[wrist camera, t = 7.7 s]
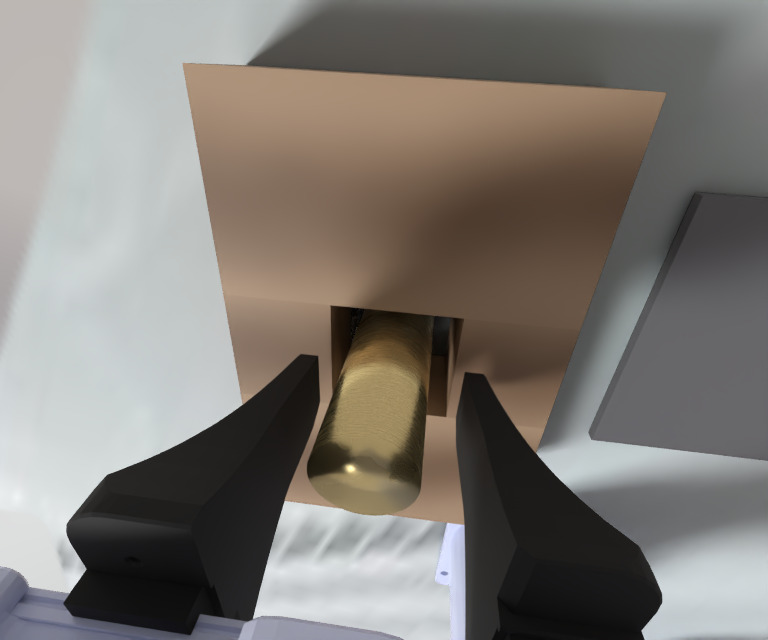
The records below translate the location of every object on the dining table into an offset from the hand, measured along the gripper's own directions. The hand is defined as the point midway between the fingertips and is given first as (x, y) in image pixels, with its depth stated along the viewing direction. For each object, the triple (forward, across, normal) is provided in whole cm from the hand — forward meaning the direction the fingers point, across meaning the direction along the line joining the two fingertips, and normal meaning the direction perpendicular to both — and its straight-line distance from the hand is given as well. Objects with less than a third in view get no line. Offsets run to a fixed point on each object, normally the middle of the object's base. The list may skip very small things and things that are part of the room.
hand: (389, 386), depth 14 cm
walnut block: (+5, 0, 0) cm, 5 cm away
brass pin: (+5, 0, 0) cm, 5 cm away
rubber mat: (+5, -16, 0) cm, 17 cm away
